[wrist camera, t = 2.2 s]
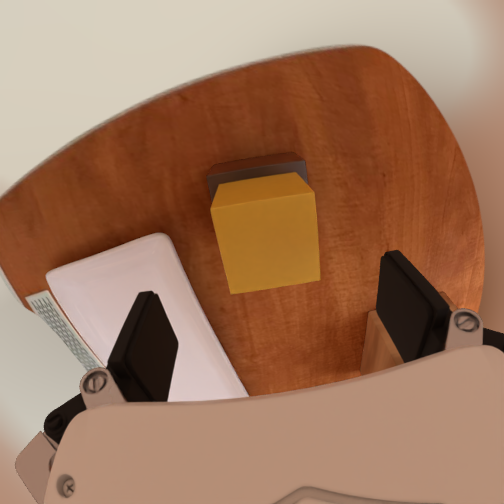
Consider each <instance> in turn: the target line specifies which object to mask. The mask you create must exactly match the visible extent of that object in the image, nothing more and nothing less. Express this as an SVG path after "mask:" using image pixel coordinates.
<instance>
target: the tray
mask: <svg viewBox="0 0 504 504" xmlns="http://www.w3.org/2000/svg"><path fill="white" fill-rule="evenodd" d="M46 279H47V282H48V284H49V286H50V288H51V291H52V292H53V294H54V296H55V298H56V299H57V301H58V303H59V304H60V306H61V307H62V309H63V311H64V312H65V314H66V315H67V317H68V318H69V320H70V321H71V322H72V324H73V325H74V327H75V328H76V330H77V331H78V332H79V334H80V335H81V336H82V338H83V339H84V340H85V342H86V343H87V344H88V346H89V347H90V348H91V350H92V351H93V352H94V353H95V355H96V356H97V357H98V358H99V359H100V361H101V362H102V363H103V364H104V365H105V367H106V366H107V364H108V363H107V361H108V358H109V356H110V354H111V351H112V349H113V347H114V344H115V342H116V340H117V338H118V335H119V333H120V331H121V329H122V327H123V324H124V322H125V320H126V318H127V316H128V314H129V311H130V309H131V307H132V305H133V303H134V301H135V299H136V297H137V295H138V293H139V292H144V291H153V292H154V294H155V293H157V294H158V295H159V298H160V300H161V302H162V305H163V307H164V310H165V312H166V314H167V317H168V319H169V321H170V323H171V326H172V328H173V330H174V332H175V335H176V337H177V339H178V343H179V347H178V352H177V356H176V361H175V366H174V371H173V376H172V381H171V386H170V391H169V396H168V402H179V401H204V400H219V399H232V398H242V397H250V396H249V395H248V393H247V391H246V390H245V388H244V386H243V384H242V382H241V381H240V379H239V377H238V375H237V373H236V372H235V370H234V368H233V366H232V364H231V362H230V361H229V359H228V357H227V355H226V353H225V351H224V350H223V348H222V346H221V344H220V342H219V340H218V338H217V336H216V335H215V333H214V331H213V329H212V327H211V325H210V323H209V321H208V319H207V317H206V315H205V313H204V311H203V309H202V307H201V305H200V303H199V301H198V299H197V297H196V295H195V293H194V291H193V289H192V287H191V284H190V282H189V280H188V278H187V275H186V273H185V271H184V268H183V266H182V264H181V261H180V259H179V257H178V255H177V252H176V250H175V247H174V245H173V243H172V241H171V239H170V237H169V236H168V235H166V234H164V233H154V234H150V235H147V236H144V237H141V238H138V239H136V240H133V241H130V242H128V243H125V244H122V245H120V246H117V247H115V248H112V249H109V250H107V251H104V252H101V253H98V254H96V255H93V256H90V257H87V258H84V259H81V260H78V261H75V262H72V263H69V264H67V265H64V266H61V267H58V268H56V269H53V270H51V271H49V272H48V273H47V274H46Z"/></svg>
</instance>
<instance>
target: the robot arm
mask: <svg viewBox="0 0 504 504" xmlns="http://www.w3.org/2000/svg"><path fill="white" fill-rule="evenodd" d="M376 312H377V315H378V316H379V318H380V320H381V322H382V323H383V325H384V327H385V329H386V330H387V332H388V334H389V336H390V338H391V339H392V341H393V343H394V345H395V347H396V348H397V350H398V352H399V354H400V356H401V358H402V360H403V362H404V364H401V365H398V366H395V367H391V368H388V369H385V370H381V371H378V372H374V373H371V374H367V375H363V376H359V377H355V378H351V379H347V380H343V381H339V382H334V383H330V384H325V385H320V386H315V387H310V388H305V389H299V390H293V391H287V392H281V393H274V394H267V395H259V396H251V397H242V398H232V399H219V400H204V401H179V402H168V396H169V391H170V386H171V381H172V376H173V371H174V366H175V361H176V356H177V352H178V347H179V343H178V339H177V337H176V335H175V332H174V330H173V328H172V326H171V323H170V321H169V319H168V317H167V314H166V312H165V310H164V307H163V305H162V302H161V300H160V298H159V295H158V294H157V293H155V294H154V292H153V291H144V292H139V293H138V295H137V297H136V299H135V301H134V303H133V305H132V307H131V309H130V311H129V314H128V316H127V318H126V320H125V322H124V324H123V327H122V329H121V331H120V333H119V335H118V338H117V340H116V342H115V344H114V347H113V349H112V351H111V354H110V356H109V358H108V361H107V363H108V364H107V366H106V368H102V367H98V368H94V369H92V370H90V371H88V372H87V373H86V374H85V375H84V376H83V377H82V379H81V381H80V386H79V387H80V392H81V393H80V394H78V395H77V396H75V397H74V398H72V399H70V400H69V401H67V402H66V403H64V404H63V405H61V406H60V407H58V408H57V409H55V410H53V411H52V412H51V413H50V414H49V415H48V416H47V417H46V419H45V422H44V432H43V433H42V432H41V431H40V432H39V433H38V434H37V435H36V436H35V437H34V438H33V439H32V441H31V442H30V443H29V444H28V445H27V446H26V447H25V448H24V450H23V451H22V452H21V453H20V454H19V455H18V457H17V458H16V462H15V468H16V471H17V473H18V474H19V476H20V478H21V479H22V481H23V483H24V484H25V486H26V487H27V489H28V490H29V492H30V493H31V494H32V496H33V497H34V499H35V500H36V502H37V503H38V504H504V334H503V333H500V332H496V331H493V330H489V329H486V328H483V321H482V319H481V317H480V316H479V315H478V314H477V313H476V312H474V311H472V310H470V309H465V308H461V309H457V310H455V311H453V312H452V311H451V310H450V306H449V304H448V303H447V302H446V301H445V300H444V299H443V297H442V296H441V295H440V294H439V293H438V292H437V291H436V289H435V288H434V287H433V286H432V285H431V284H430V283H429V282H428V281H427V279H426V278H425V277H424V276H423V275H422V274H421V273H420V272H419V271H418V270H417V269H416V268H415V267H414V266H413V264H412V263H411V262H410V261H409V260H408V259H407V258H406V257H405V256H404V255H403V254H402V253H401V252H400V251H399V250H394V251H389V252H385V254H384V256H382V257H381V262H380V274H379V285H378V294H377V303H376Z"/></svg>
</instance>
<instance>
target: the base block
mask: <svg viewBox="0 0 504 504" xmlns="http://www.w3.org/2000/svg"><path fill="white" fill-rule="evenodd" d="M292 172H296V173H297V174H298V175H299V176H300V177H301V178H302V179H303V180H304V181H305V182H306V184H307V185H308V180H307V171H306V162H305V160H304V159H302V158H301V157H300V156H298V155H297V154H295V153H294V152H288V153H280V154H273V155H266V156H260V157H253V158H247V159H241V160H236V161H230V162H225V163H220V164H214V165H213V167H212V168H211V170H210V171H209V173H208V175H207V182H208V187H209V191H210V196H211V200H212V203H213V200H214V197H215V194H216V191H217V189H218V186H219V184H224V183H229V182H235V181H240V180H246V179H252V178H259V177H265V176H271V175H278V174H285V173H292Z"/></svg>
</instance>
